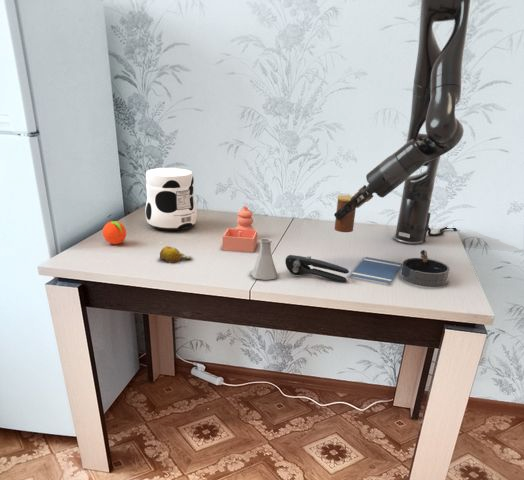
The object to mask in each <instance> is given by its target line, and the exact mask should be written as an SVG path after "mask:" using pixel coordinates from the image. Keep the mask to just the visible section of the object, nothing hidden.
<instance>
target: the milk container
mask: <svg viewBox="0 0 524 480" xmlns="http://www.w3.org/2000/svg"><path fill="white" fill-rule="evenodd" d="M193 173H194V172H193V171H192V170H189V169H186V168H179V167H158V168H157V167H156V168H151V169H147V170H146V171H145V190H146V204H145V208H144V214H145V219H146V222H147V224H148V226H150V227H152V228H154V229H159V230H163V231H180V230H185V229H189V228H191V227H193V226H194V225H196V222H197V218H198V209H197V205H196V202H195V184H194V182H195V181H194V174H193Z"/></svg>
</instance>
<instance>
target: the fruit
mask: <svg viewBox="0 0 524 480" xmlns="http://www.w3.org/2000/svg"><path fill="white" fill-rule="evenodd" d="M182 257H184V258H185V259H186V260H190V259H191V256H190V255H187V256H186V254H185V253H181V252H180V250H179V249H177V248H176V247H173V246H170V245H167V246H164V247H163V248H162V249H161V250H160V252H159V260H165V261H167V263H170V262H171V263H176V262H179V261H180V259H181V258H182Z"/></svg>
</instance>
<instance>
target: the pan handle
mask: <svg viewBox="0 0 524 480" xmlns="http://www.w3.org/2000/svg"><path fill="white" fill-rule="evenodd" d="M428 257H429V256H428V251H427V250H426V249H422V250H421V251H420V258H424V259H423V260H422V264H423V265H427V264H428V260H427V259H429V258H428Z"/></svg>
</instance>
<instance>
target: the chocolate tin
mask: <svg viewBox="0 0 524 480" xmlns="http://www.w3.org/2000/svg"><path fill="white" fill-rule="evenodd" d="M352 196H353V195H348V194H341V195H338V196H337V203H336V204H337V205H336V212H337V211H338V210H340V209H341V208H342V207H343V206H344V205H345V204H346V203H348V202H349V201H350V198H351V197H352ZM349 205H350V206H351V207H352V208H353V207H354V205H353V204H352V203H350V204H349ZM356 210H357V208H355V209H354V210H353V211H352V212H350V213H348V214H346V215H345V216H344V217H343V218H341V219H340V220H337V218H336V217H335V221H334V230H335V231H336V232H338V233H339V232H340V233H352V232H353V231H354V227H355V217H356ZM336 212H335V213H336Z"/></svg>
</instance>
